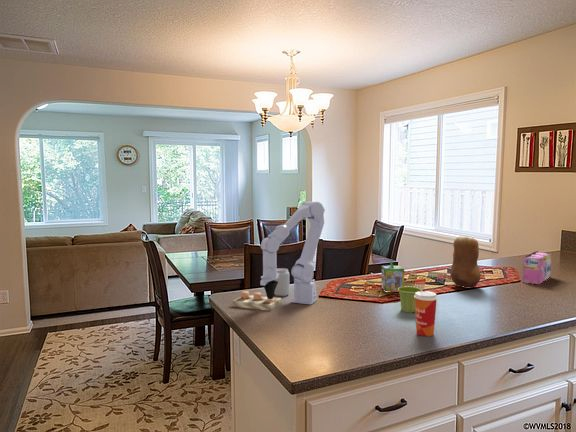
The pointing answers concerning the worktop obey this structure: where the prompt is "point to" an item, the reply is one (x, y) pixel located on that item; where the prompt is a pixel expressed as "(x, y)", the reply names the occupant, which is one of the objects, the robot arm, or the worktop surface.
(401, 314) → the worktop surface
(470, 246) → the butternut squash
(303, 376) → the worktop surface
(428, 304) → the paper cup
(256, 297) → the button mid
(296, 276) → the robot arm
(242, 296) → the button far
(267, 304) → the button board
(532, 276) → the gum box
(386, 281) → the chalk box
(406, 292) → the plant pot
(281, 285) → the can
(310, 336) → the worktop surface
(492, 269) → the worktop surface
